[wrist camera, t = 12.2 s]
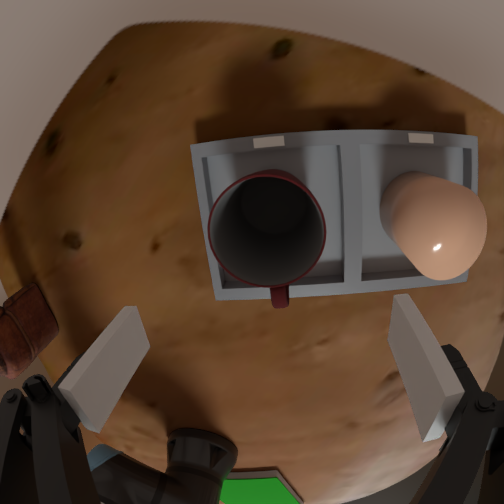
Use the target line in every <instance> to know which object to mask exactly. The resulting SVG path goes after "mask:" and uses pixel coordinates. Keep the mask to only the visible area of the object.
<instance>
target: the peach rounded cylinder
mask: <svg viewBox="0 0 504 504" xmlns="http://www.w3.org/2000/svg"><path fill="white" fill-rule="evenodd" d="M379 213H380V221H381V224H382V227H383V229H384V231H385V232H386V234H387V235H388V236H389V237H390V239H391V240H392V241H393V242H394V243H395V244H396V245H397V246H398V247H399V249H400V250H401V251H402V252H403V253H404V254H405V255H406V257H407V258H408V259H409V260H410V261H411V262H412V263H413V265H414V266H415V267H416V268H417V269H418V270H419V271H420V272H421V273H422V274H423V275H425V276H426V277H428V278H430V279H434V280H448V279H452V278H455V277H457V276H459V275H461V274H462V273H464V272H465V271H466V270H467V269H469V268H470V267H471V266H472V264H473V263H474V262H475V261H476V259H477V258H478V256H479V254H480V252H481V250H482V248H483V245H484V242H485V239H486V233H487V218H486V213H485V209H484V207H483V204H482V202H481V201H480V199H479V198H478V196H477V195H476V194H475V193H474V192H473V191H472V190H470V189H469V188H467V187H465V186H462V185H459V184H457V183H454V182H451V181H448V180H445V179H442V178H440V177H437V176H434V175H430V174H427V173H424V172H420V171H409V172H405V173H403V174H400V175H399V176H397V177H396V178H394V179H393V180H392V181H391V182H390V183H389V185H388V186H387V187H386V189H385V191H384V193H383V195H382V198H381V202H380V209H379Z"/></svg>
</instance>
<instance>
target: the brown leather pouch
mask: <svg viewBox="0 0 504 504" xmlns="http://www.w3.org/2000/svg"><path fill="white" fill-rule="evenodd" d="M57 334H58V326H57V323H56V320H55V318H54V316H53V315H52V313H51V311H50V310H49V308H48V306H47V304H46V302H45V300H44V298H43V296H42V294H41V292H40V290H39V288H38V286H37V285H36V284H34V283H31V284H29V285H27V286H25V287H23V288H22V289H20V290H19V291H18V292H16V293H15V294H14V295H12V296H11V297H10V298H8V299H7V300H6V301H5V302H4V303H3V307H1V306H0V376H6V377H7V378H9V379H15V378H16V377H18V376H19V375H20V374H21V373H22V372H23V371H24V370H25V369H26V368H27V367H28V366H29V365H30V364H31V363H32V362H33V361H34V359H35V358H36V357H37V355H38V354H39V353H40V352H41V351H42V350H43V349H44V348H45V347H46V346H47V345H48V344H49V343H50V342H51V341H52V340H53V339H54V338H55V337H56V336H57Z"/></svg>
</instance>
